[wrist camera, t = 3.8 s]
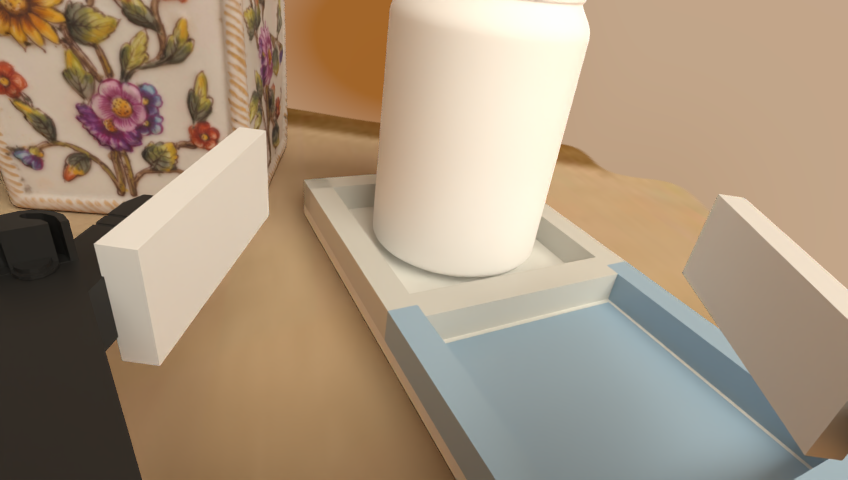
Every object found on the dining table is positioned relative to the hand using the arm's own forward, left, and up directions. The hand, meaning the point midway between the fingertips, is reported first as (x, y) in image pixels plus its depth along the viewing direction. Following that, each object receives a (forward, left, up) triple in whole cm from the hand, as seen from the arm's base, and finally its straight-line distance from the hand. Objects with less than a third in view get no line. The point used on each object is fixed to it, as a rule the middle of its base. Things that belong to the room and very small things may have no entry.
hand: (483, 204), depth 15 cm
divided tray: (-2, +4, -7) cm, 9 cm away
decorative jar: (-20, -8, -7) cm, 23 cm away
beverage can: (-8, +4, -7) cm, 11 cm away
